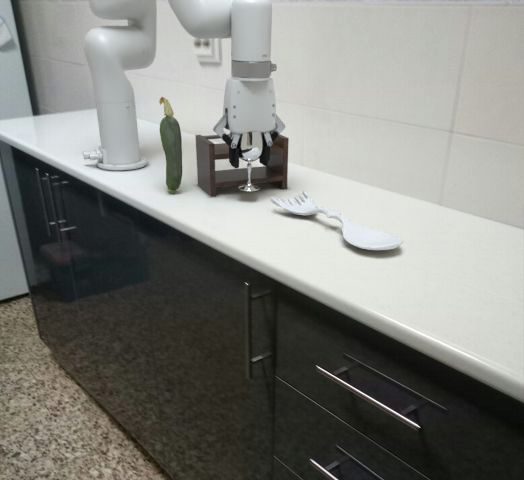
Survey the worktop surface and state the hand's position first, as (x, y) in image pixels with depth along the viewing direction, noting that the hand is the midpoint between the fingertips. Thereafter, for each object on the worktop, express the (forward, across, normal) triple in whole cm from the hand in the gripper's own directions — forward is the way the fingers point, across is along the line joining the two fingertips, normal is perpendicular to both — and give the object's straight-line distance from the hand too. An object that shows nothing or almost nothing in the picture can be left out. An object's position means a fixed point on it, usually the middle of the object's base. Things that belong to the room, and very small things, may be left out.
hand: (249, 164), depth 122 cm
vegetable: (+8, +14, -10) cm, 19 cm away
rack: (+8, -2, -10) cm, 13 cm away
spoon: (+7, -8, +24) cm, 26 cm away
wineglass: (+5, 0, 0) cm, 5 cm away
